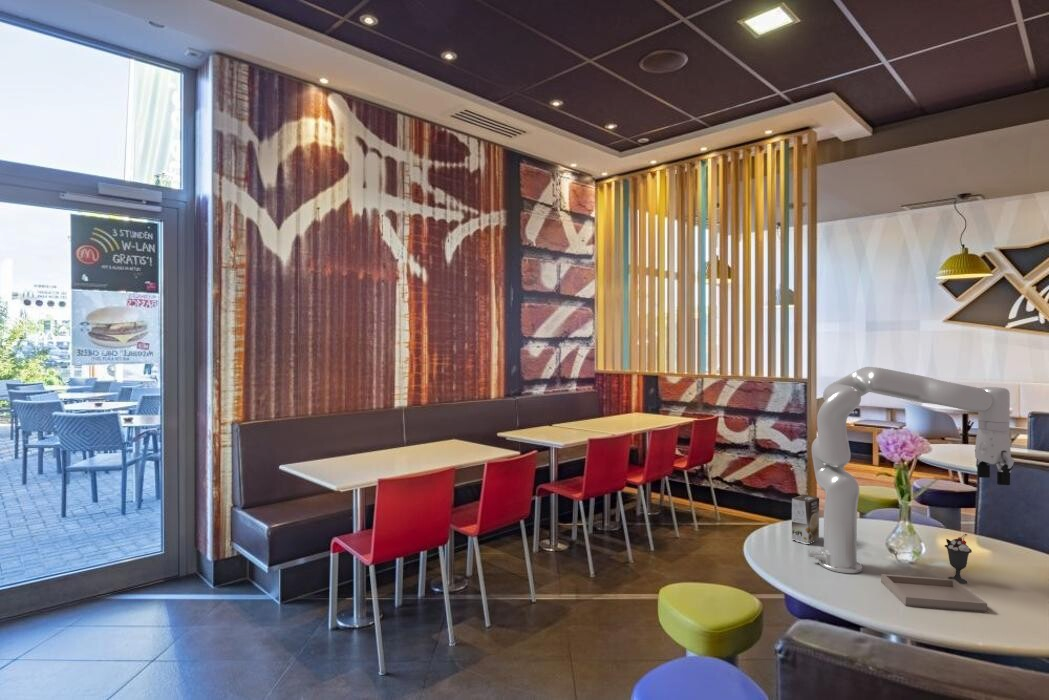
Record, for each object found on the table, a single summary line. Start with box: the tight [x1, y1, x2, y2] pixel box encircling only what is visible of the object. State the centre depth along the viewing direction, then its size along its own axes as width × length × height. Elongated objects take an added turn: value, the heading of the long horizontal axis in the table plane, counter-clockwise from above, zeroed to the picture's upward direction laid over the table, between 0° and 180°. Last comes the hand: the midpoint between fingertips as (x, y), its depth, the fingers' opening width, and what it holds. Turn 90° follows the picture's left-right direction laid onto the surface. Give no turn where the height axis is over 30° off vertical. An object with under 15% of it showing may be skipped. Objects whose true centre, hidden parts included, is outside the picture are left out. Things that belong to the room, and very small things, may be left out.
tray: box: [880, 573, 988, 613], centre depth 162 cm, size 20×16×2 cm
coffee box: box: [791, 494, 820, 544], centre depth 208 cm, size 9×6×16 cm
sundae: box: [944, 533, 973, 585], centre depth 173 cm, size 7×7×15 cm
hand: (993, 480), depth 175 cm, fingers open, 9 cm apart
